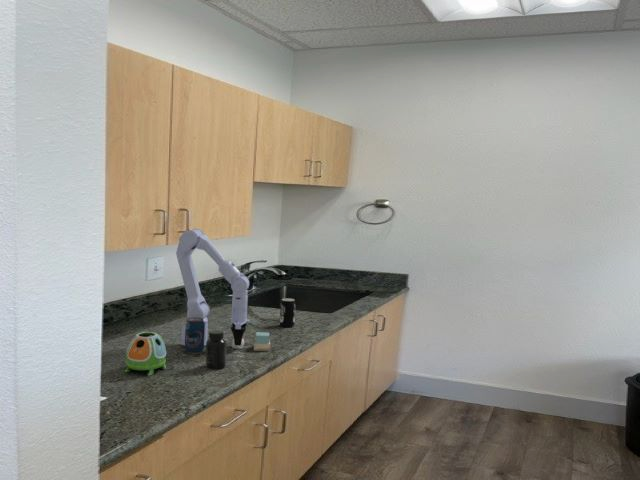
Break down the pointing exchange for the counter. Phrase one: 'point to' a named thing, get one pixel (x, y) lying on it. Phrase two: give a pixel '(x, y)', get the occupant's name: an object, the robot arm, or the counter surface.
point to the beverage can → (287, 312)
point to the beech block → (261, 346)
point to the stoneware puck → (238, 345)
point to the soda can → (194, 335)
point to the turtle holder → (146, 353)
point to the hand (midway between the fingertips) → (238, 343)
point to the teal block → (262, 337)
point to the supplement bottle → (216, 350)
